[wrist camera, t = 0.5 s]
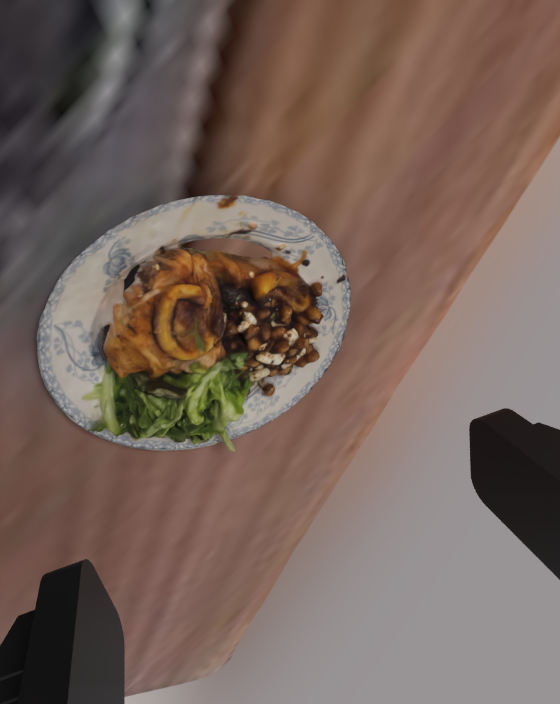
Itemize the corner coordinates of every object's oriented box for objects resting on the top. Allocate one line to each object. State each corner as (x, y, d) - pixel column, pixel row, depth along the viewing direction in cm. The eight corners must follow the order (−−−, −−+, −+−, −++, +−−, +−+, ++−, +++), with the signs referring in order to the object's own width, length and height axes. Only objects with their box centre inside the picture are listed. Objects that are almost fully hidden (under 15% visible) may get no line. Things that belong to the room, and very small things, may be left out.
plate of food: (140, 472, 54) (151, 519, 50) (-52, 292, 34) (-62, 345, 30) (360, 355, 56) (388, 390, 52) (298, 119, 36) (336, 146, 32)
